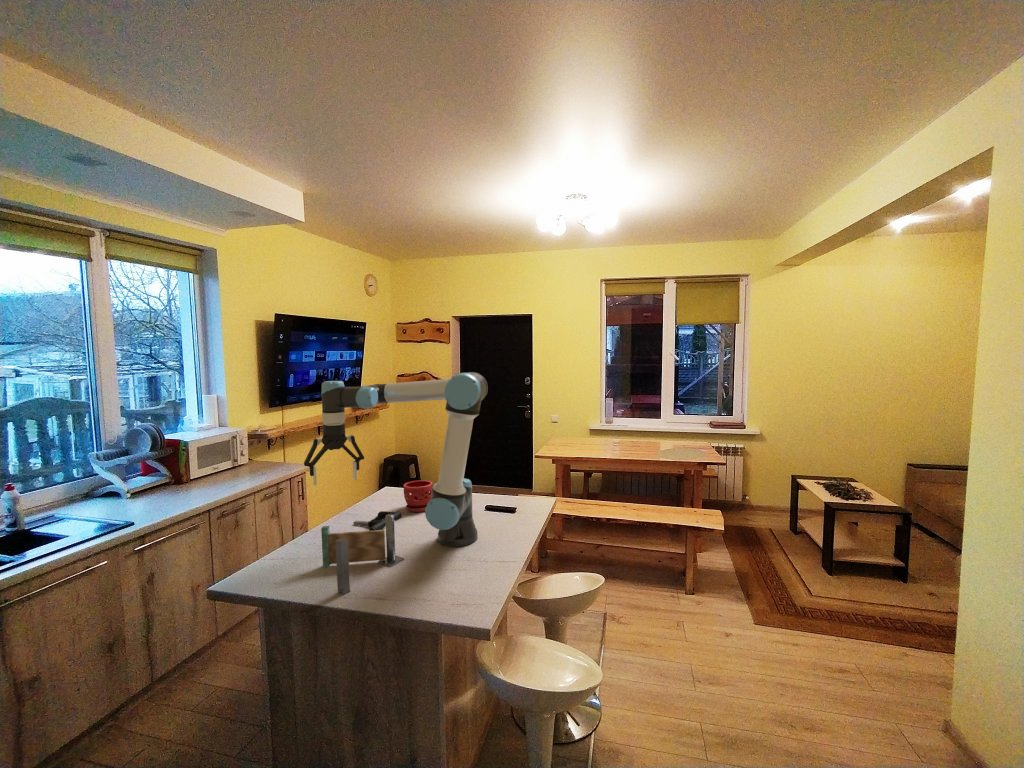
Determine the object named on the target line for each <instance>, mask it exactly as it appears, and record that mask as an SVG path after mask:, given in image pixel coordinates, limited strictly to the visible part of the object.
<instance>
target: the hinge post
mask: <svg viewBox="0 0 1024 768" xmlns="http://www.w3.org/2000/svg"><path fill="white" fill-rule="evenodd" d="M385 518H386V528H385V546H386V556H385V560H377V562H378V564H380V565H384V566H387V567H390V568H391V567H394V566H396V565H397V564H399V563H401V562H402V561H404V560H405V558H404V557H402V556H399V555H396V537H395V535H396V533H395V522H394V514H388V515H386V516H385Z"/></svg>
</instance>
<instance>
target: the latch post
mask: <svg viewBox="0 0 1024 768" xmlns="http://www.w3.org/2000/svg"><path fill="white" fill-rule="evenodd" d="M336 563H337V564H336V579H337V580H336V581H337V594H340V595H341V594H342V595H341V596H344V595H346V594H348V593H350V592H351V591H350V590H351V588H350V587H351V586H350V585H351V584H350V565H349V564H350V563H349V558H348V539H346V538H340V539H338V540H336Z"/></svg>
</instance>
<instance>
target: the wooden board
mask: <svg viewBox="0 0 1024 768" xmlns="http://www.w3.org/2000/svg"><path fill="white" fill-rule="evenodd" d="M320 530H321V531H320V532H321V548H322V549H321V551H322V552H321V553H322V554H321V555H322V567H330V566H331V565H335V564H336V565H337V563H336V540H338V539H340V538H346V539H348V558H349V564H350V563H362V562H372V561H373V562H374V561H379V560H385V557H386V530H385V529H381V530H372V531H369V530H362V531H361V530H359V531H347V532H334V533H333V532H330V525H324V526H322V527H321V528H320Z"/></svg>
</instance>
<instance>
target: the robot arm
mask: <svg viewBox="0 0 1024 768" xmlns="http://www.w3.org/2000/svg"><path fill="white" fill-rule="evenodd" d="M488 389H489V387H488V382H487V380H486V378H485V377H484V376H483V375H481V374H480V373H478V372H475V371H474V372H473V371H469V372H460V373H457V374H455V375H452V376H451V377H450V378H445V379H432V380H420V381H419V380H417V381H405V382H395V383H394V382H392V383H391V382H389V383H375V384H369V385H361V386H345V384H344V381H342V380H327V381H323V382H322V383H321V393H320V394H321V405H322V406H321V411H322V413H321V415H322V417H321V418H322V419H321V420H322V424H323V425H322V437H321V438H316V437H314V438H313V439H312V445H311V447H310V449H309V451H308V453H307V455H306V457H305V459H304V461H303V465H304V466H305V467H308V468H309V475H310V477H312V479H313V480H312V481H313V486H314V487H315V486H316V487H317V482H318V481H317V466H316V464H317V463H318V462H319V461H320V459H321V458H322V457H323V455H324V454H325V453H326V452H327V451H328V450H329V451H334V450H340V449H343V450H344V451H345V452H346V453H347V454H348V455H349V456H350V457H351V458H353V461H352V479H353V480H354V481H357V478H358V477H357V471H360V462H361V461H362V460H363V461H364V459H365V456H364V454H363V453H362V451H361V449H360V447H359V445H358V444H357V442H356V438H355V435H353V434H350V435H348V436H346V424H345V422H346V416H345V413H346V412H345V411H346V410H345V409H347V408H353V409H354V408H355V409H364V410H365V409H372V408H373V409H374V408H375V407H376V405H378V404H379V405H380V404H395V403H409V402H410V403H411V402H423V401H441V400H446V402H445V403H446V404H445V408H444V409H445V412H447V415H448V419H447V424H446V431H445V436H444V437H445V438H444V444H443V449H442V455H441V460H440V461H441V462H440V467H439V472H438V473H439V474H438V481H436V483H434V484H432V485H433V489H432V495H431V500H430V501H429V502H428V504H427V506H426V509H425V511H424V514H425V519H426V521H427V522H428V523H429V525H430V526H431V527H433V528H435V529H436V530H438V533H437V541H438V543H439V544H441V545H443V546H446V547H452V546H455V547H456V546H457V547H463V546H468V545H472V544H473V543H475V542H476V541H477V540H478V538H479V537H478V536H479V535H478V529H477V527H476V524H475V521H474V518H473V484H472V481H471V480H470V479H469V478H465V472H466V466H467V462H468V461H467V460H468V455H469V448H470V443H471V442H470V441H471V436H472V430H473V425H474V419H475V418H477V417H478V416H479V415H480V410H481V404H482V401H483V400H484V399H485V397H486V396H487V395H488ZM347 441H348V442H350V443H351V445H352V446H353V448H354V450H355V452H356V453H357V455H358V456H356V455H355V453H353V451H351V449H349V448H348V447H347V446H346V445H345V444H346V442H347ZM320 444H323V446H322V447H321V448H320V449H319V451H318V453H317V454H316V455H315V457H314V458H313V455H314V454H315V451H316V450H317V447H318V446H319V445H320ZM312 458H313V459H312Z"/></svg>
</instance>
